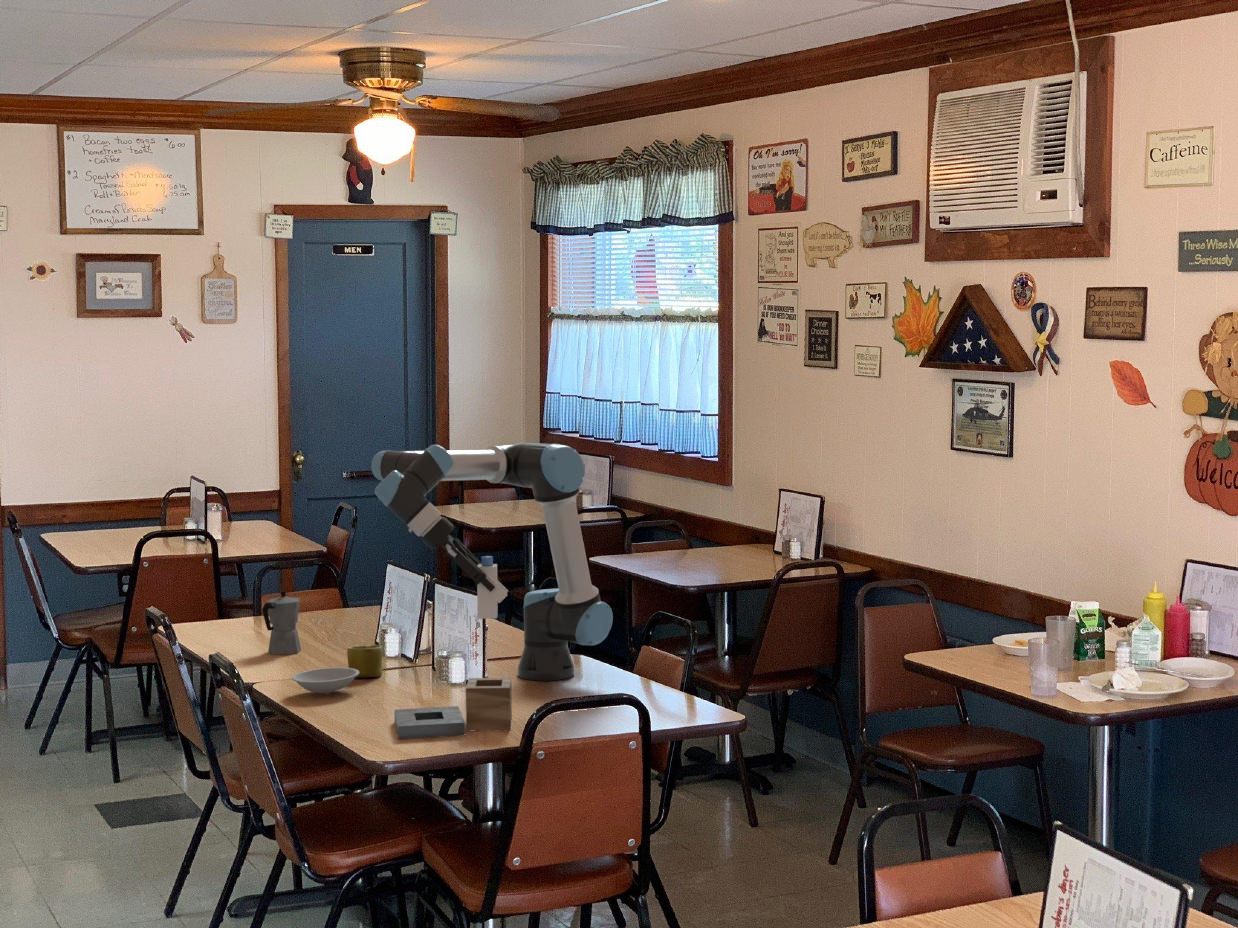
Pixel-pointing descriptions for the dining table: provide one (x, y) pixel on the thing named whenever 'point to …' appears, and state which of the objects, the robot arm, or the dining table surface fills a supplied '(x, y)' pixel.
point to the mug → (366, 660)
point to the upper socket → (488, 704)
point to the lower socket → (429, 722)
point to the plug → (484, 599)
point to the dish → (325, 679)
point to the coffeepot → (282, 624)
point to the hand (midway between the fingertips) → (503, 596)
